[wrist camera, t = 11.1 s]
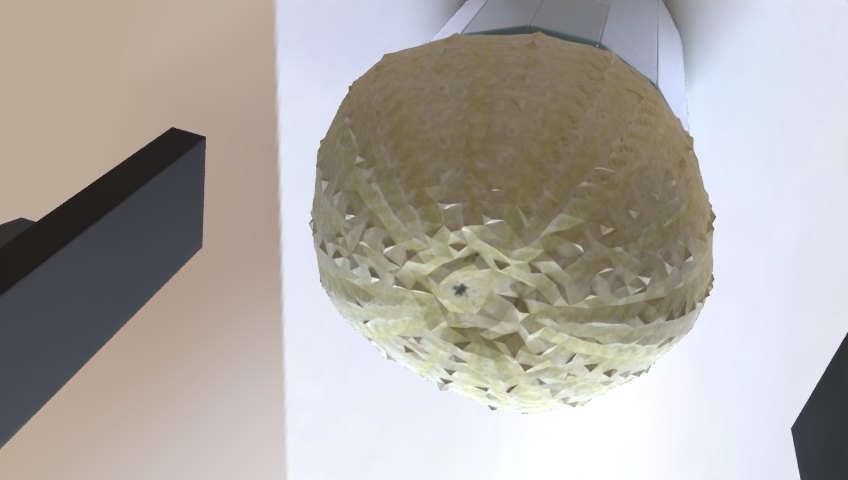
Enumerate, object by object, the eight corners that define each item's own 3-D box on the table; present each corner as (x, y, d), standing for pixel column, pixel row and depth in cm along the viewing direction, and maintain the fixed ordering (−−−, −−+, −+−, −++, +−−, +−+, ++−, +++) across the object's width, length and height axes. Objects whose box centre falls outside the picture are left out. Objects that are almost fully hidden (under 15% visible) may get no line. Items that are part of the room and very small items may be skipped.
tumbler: (719, -16, 26) (748, 79, 17) (639, 203, 30) (630, 364, 22) (475, -74, 27) (390, -11, 18) (430, 145, 31) (345, 278, 23)
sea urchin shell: (511, 464, 22) (281, 480, 16) (425, 223, 25) (210, 163, 20) (830, 304, 17) (672, 243, 11) (669, 38, 21) (487, -114, 15)
